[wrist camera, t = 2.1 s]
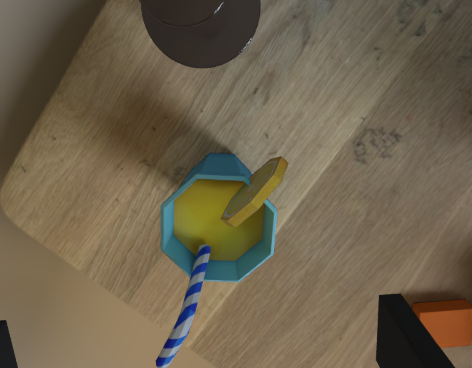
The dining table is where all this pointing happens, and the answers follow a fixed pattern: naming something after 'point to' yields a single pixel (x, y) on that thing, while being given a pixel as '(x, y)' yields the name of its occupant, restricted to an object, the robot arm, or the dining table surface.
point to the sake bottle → (201, 29)
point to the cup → (218, 229)
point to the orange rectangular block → (447, 321)
